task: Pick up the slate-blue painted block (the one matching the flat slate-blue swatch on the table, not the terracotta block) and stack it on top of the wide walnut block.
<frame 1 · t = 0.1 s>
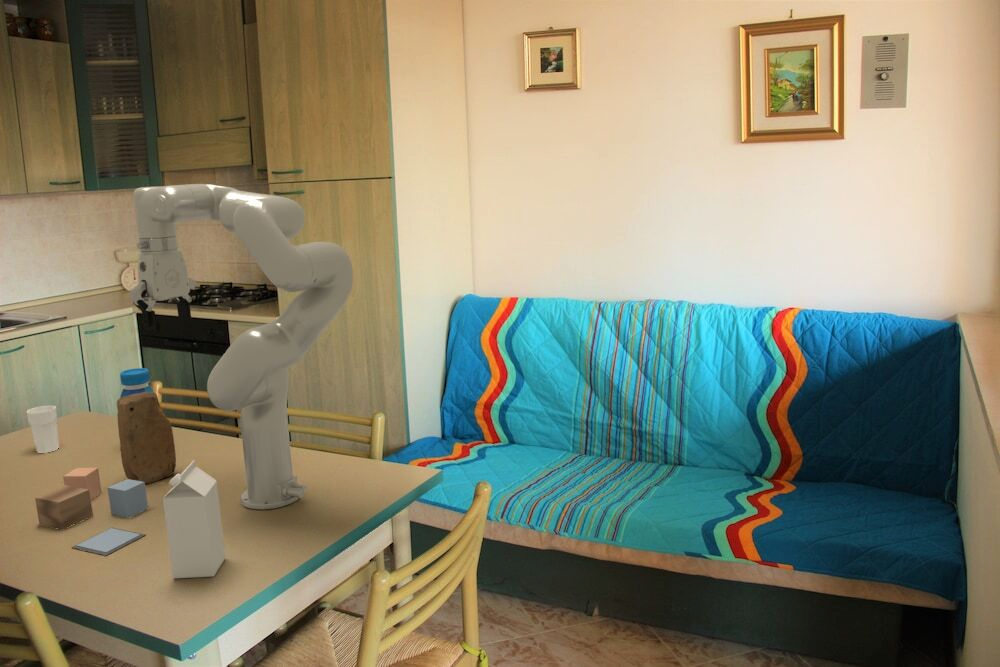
hand: (168, 324, 181), 37 cm above the table, tool pointing down, fingers open, 9 cm apart
beverage bottle: (144, 446, 216), on the table
terracotta block: (84, 497, 183), on the table
slate block: (129, 511, 174), on the table
cup: (47, 451, 215), on the table
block: (151, 478, 193), on the table
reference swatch: (109, 541, 160), on the table
milk carton: (199, 569, 148), on the table
walnut block: (66, 521, 171), on the table
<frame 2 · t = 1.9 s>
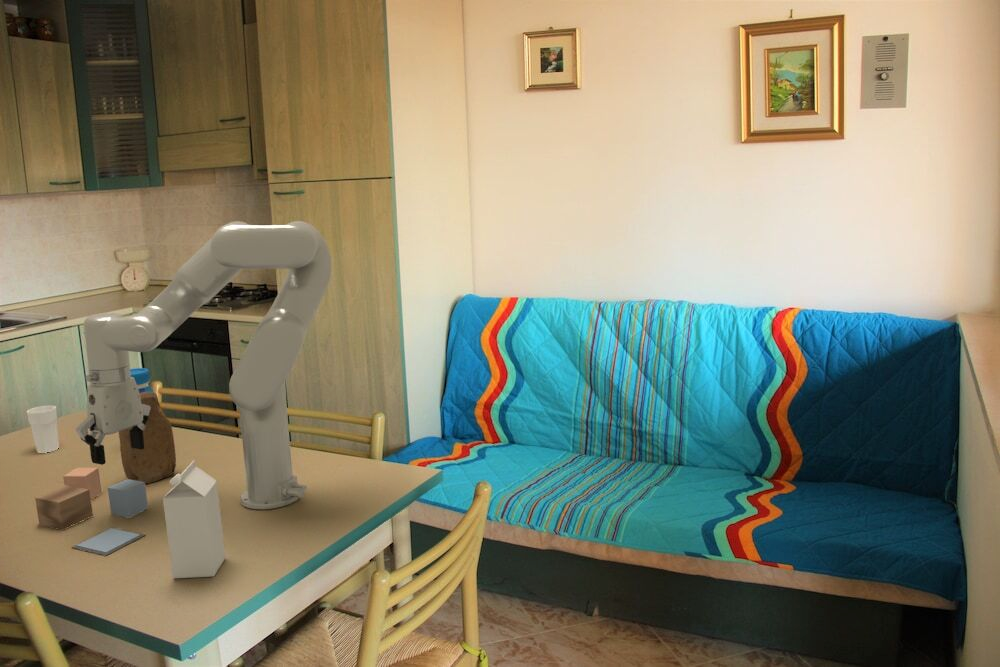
hand: (118, 455, 172), 12 cm above the table, tool pointing down, fingers open, 9 cm apart
nothing on the table moved.
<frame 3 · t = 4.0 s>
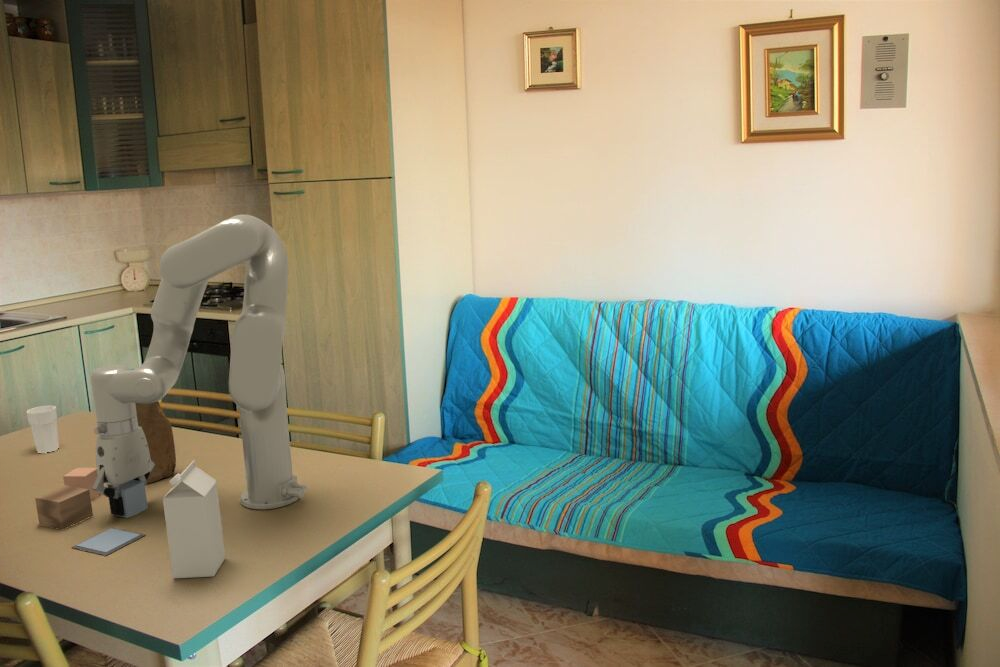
hand: (129, 508, 174), 1 cm above the table, tool pointing down, fingers closed on slate block, 5 cm apart
slate block: (129, 511, 174), on the table, touching gripper
everything else where it was.
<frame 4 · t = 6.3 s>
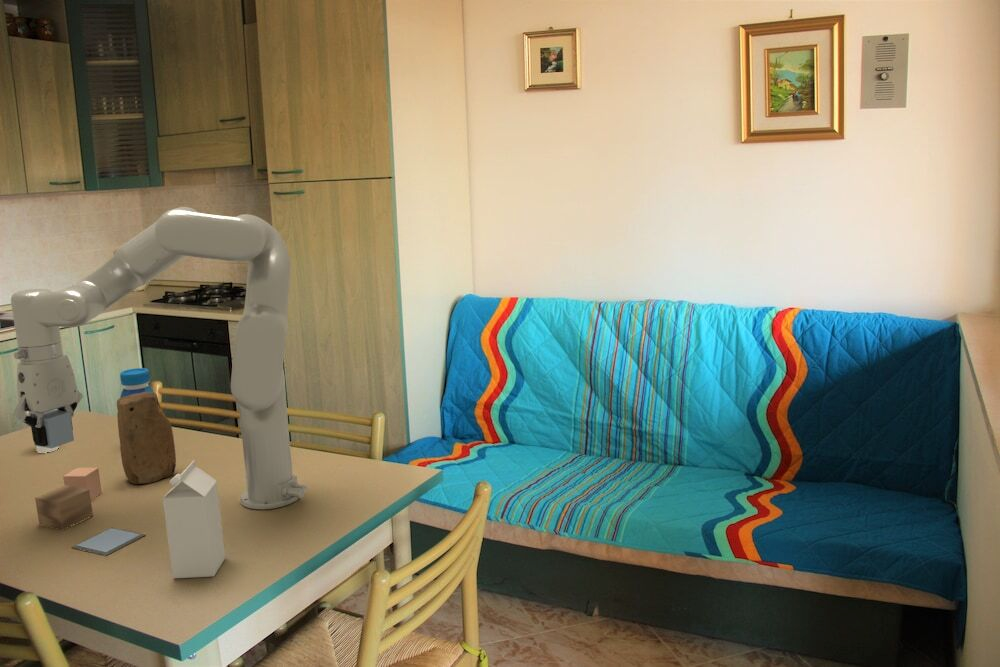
hand: (54, 439, 168), 17 cm above the table, tool pointing down, fingers closed on slate block, 5 cm apart
slate block: (54, 442, 168), point 17 cm above the table, touching gripper
everything else where it was.
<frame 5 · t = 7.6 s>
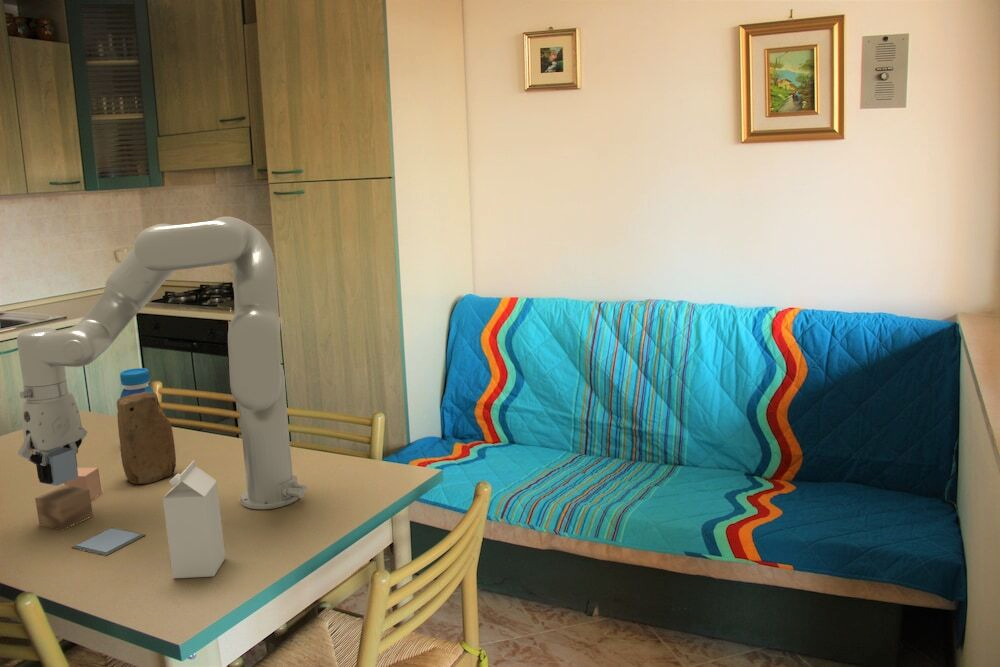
hand: (58, 476, 169), 10 cm above the table, tool pointing down, fingers closed on slate block, 5 cm apart
slate block: (59, 479, 169), point 9 cm above the table, touching gripper
everything else where it was.
when the fingers open (8 cm above the table, at t = 8.7 s): slate block drops 1 cm, resting on walnut block.
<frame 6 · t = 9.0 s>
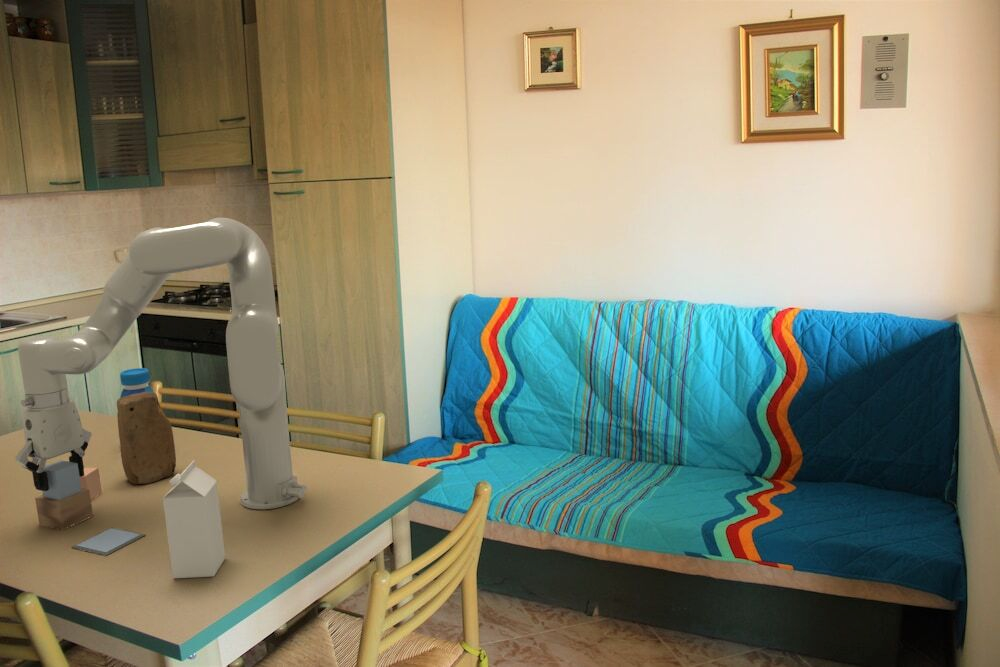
hand: (60, 482, 169), 8 cm above the table, tool pointing down, fingers open, 7 cm apart
slate block: (62, 493, 170), point 6 cm above the table, touching walnut block
walnut block: (66, 521, 171), on the table, touching slate block
everything else where it was.
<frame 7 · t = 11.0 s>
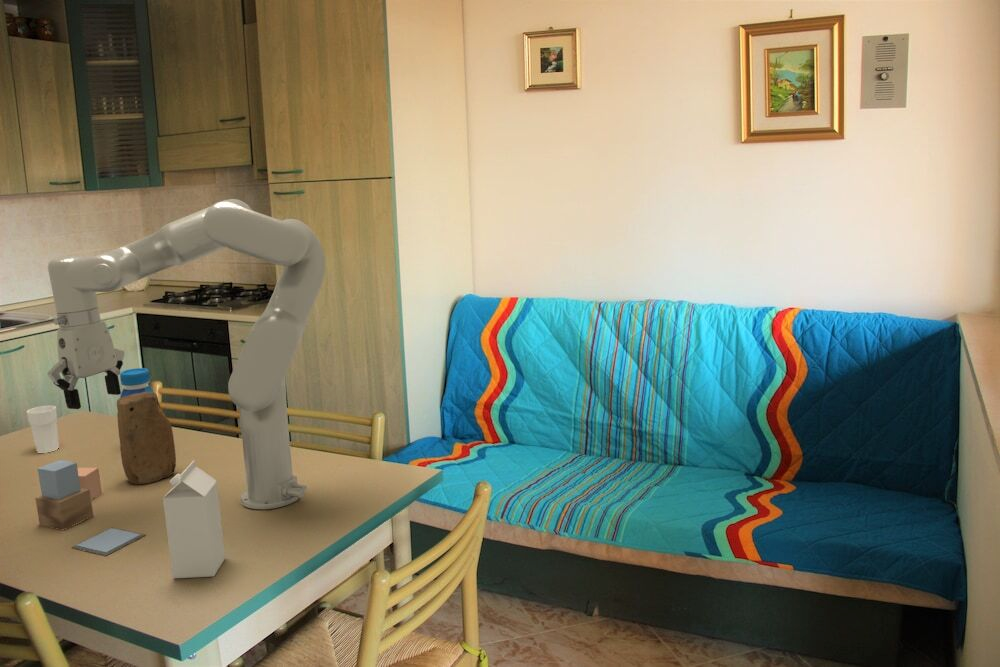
hand: (94, 401, 170), 24 cm above the table, tool pointing down, fingers open, 9 cm apart
slate block: (61, 493, 170), point 6 cm above the table
walnut block: (66, 521, 171), on the table
everything else where it was.
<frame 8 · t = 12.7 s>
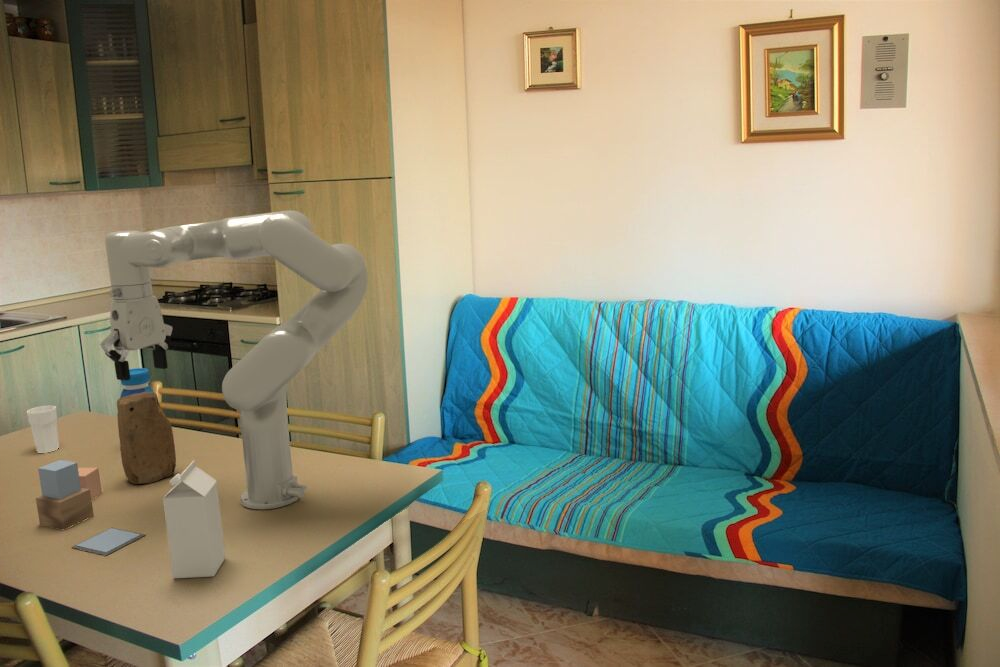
hand: (142, 373, 173), 28 cm above the table, tool pointing down, fingers open, 9 cm apart
slate block: (61, 493, 170), point 6 cm above the table, touching walnut block
walnut block: (67, 521, 171), on the table, touching slate block
everything else where it was.
at the end: slate block 0.4 cm off-centre on the walnut block, point 6.0 cm above the walnut block's base; slate block tilted 0°; the gripper is holding nothing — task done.
